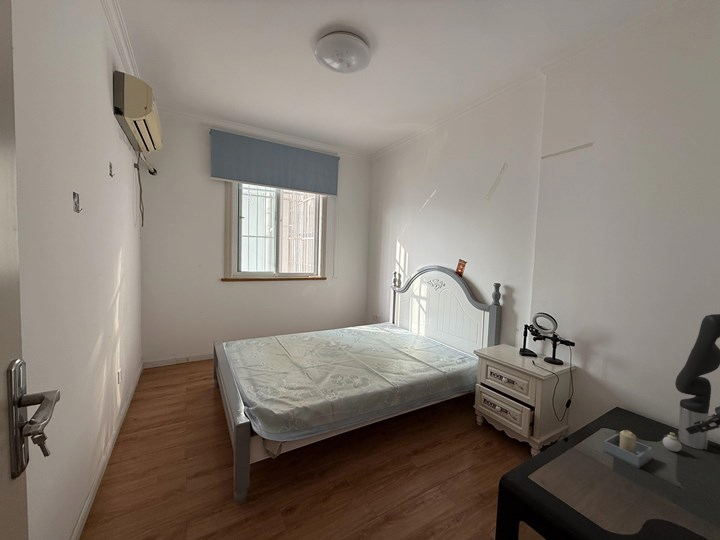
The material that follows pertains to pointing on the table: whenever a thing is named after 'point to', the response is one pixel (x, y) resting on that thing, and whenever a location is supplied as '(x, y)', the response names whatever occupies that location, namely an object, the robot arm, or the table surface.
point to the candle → (628, 441)
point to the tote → (627, 452)
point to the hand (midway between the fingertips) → (692, 428)
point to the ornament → (672, 442)
